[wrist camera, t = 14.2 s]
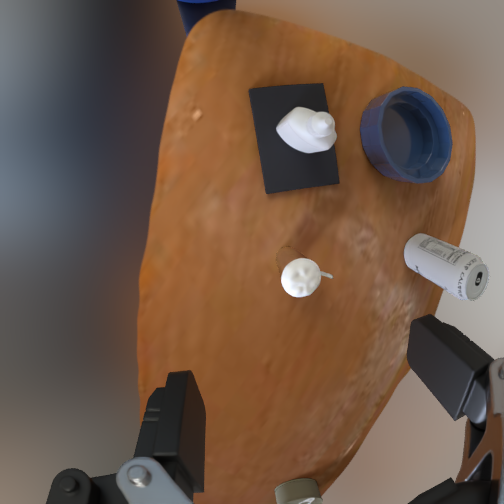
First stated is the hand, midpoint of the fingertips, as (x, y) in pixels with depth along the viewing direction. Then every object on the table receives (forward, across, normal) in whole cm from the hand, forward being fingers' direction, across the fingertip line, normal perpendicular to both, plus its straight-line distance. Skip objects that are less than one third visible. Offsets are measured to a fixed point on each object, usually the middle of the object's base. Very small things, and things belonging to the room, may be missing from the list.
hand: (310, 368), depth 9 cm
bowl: (+30, -24, -9) cm, 40 cm away
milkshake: (+30, -5, +6) cm, 31 cm away
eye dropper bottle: (+30, -8, -10) cm, 32 cm away
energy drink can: (+30, -26, +9) cm, 41 cm away
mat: (+30, -8, -10) cm, 33 cm away
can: (+30, -1, +72) cm, 78 cm away
